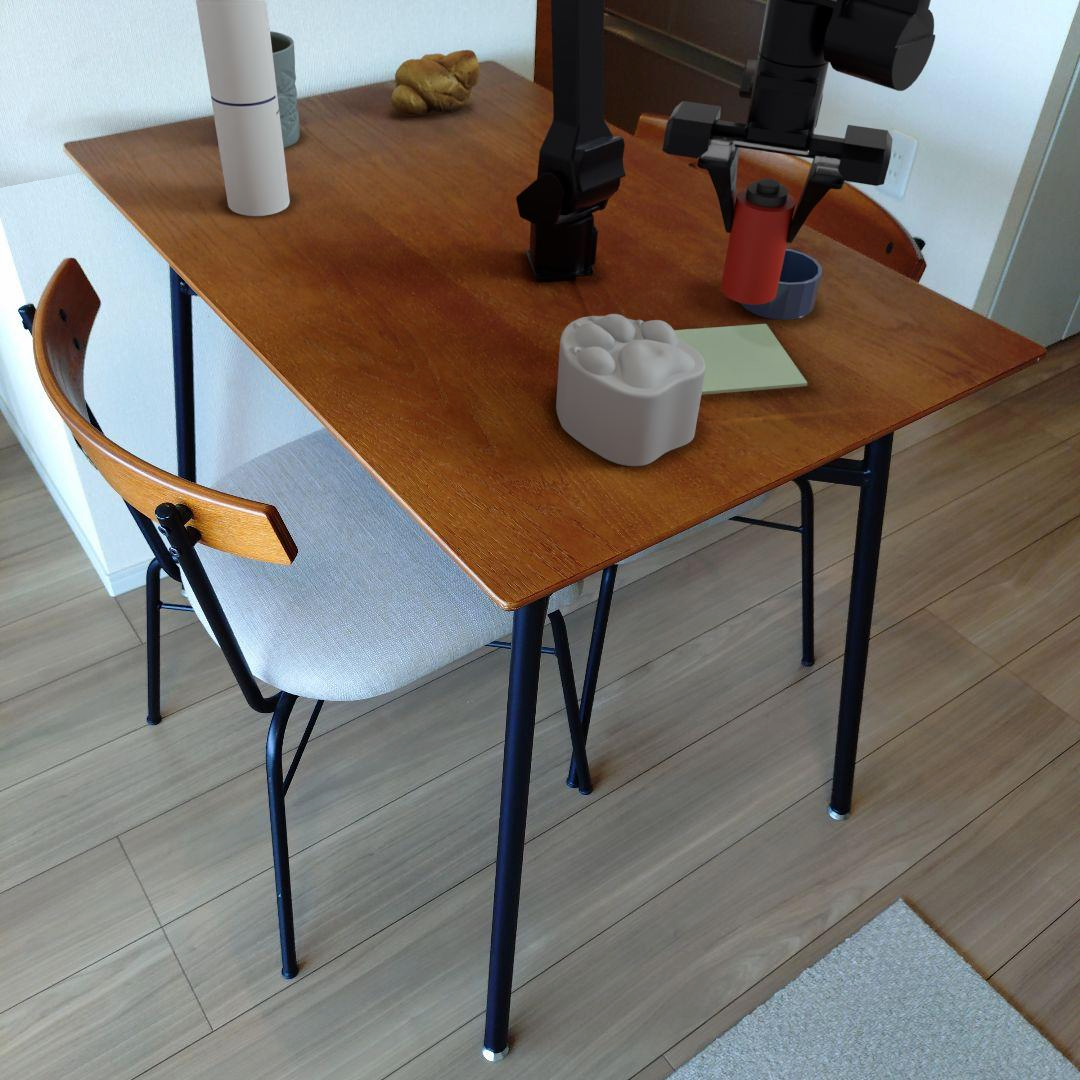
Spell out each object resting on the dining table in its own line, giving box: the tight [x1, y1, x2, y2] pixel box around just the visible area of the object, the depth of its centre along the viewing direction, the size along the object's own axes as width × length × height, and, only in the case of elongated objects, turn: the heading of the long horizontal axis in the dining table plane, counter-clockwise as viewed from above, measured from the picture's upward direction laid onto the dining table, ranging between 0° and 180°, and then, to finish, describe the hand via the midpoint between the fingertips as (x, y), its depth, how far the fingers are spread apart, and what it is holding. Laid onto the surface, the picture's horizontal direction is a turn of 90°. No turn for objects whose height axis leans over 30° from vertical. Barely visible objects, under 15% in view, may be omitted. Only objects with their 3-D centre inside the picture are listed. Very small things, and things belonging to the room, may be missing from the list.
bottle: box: [720, 177, 796, 305], centre depth 97 cm, size 5×5×10 cm
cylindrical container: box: [195, 0, 291, 217], centre depth 119 cm, size 7×7×25 cm
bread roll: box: [390, 49, 481, 117], centre depth 150 cm, size 13×10×8 cm
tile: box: [673, 323, 808, 396], centre depth 104 cm, size 11×11×1 cm
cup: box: [739, 248, 823, 321], centre depth 112 cm, size 8×8×4 cm
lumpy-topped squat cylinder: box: [555, 313, 706, 467], centre depth 94 cm, size 10×13×9 cm
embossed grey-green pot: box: [270, 30, 301, 149], centre depth 138 cm, size 10×10×12 cm
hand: (759, 236), depth 97 cm, fingers closed on bottle, 5 cm apart
